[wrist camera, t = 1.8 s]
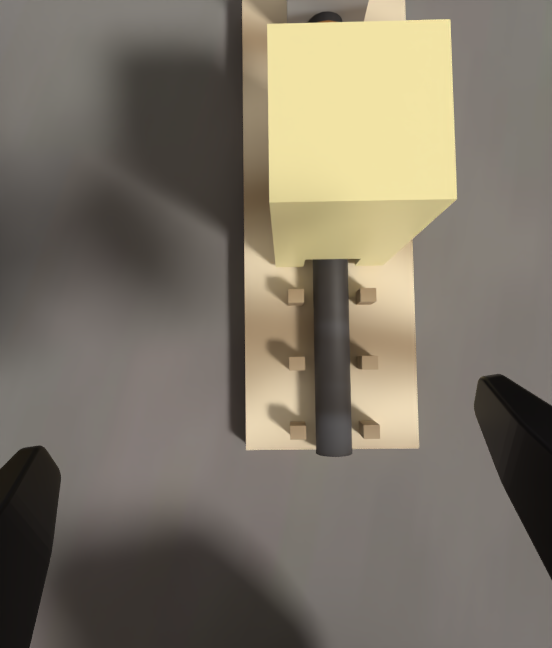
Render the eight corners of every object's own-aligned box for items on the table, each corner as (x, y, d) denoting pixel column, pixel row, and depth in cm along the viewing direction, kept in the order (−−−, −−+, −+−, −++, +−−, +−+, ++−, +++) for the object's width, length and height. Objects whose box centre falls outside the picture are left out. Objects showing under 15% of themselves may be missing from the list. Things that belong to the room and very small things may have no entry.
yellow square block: (382, 265, 22) (456, 199, 13) (275, 267, 22) (269, 202, 13) (379, 161, 22) (449, 19, 13) (274, 163, 22) (267, 23, 13)
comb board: (412, 443, 23) (442, 464, 19) (248, 444, 23) (239, 466, 19) (398, 11, 24) (424, -64, 20) (244, 15, 24) (235, -59, 20)
